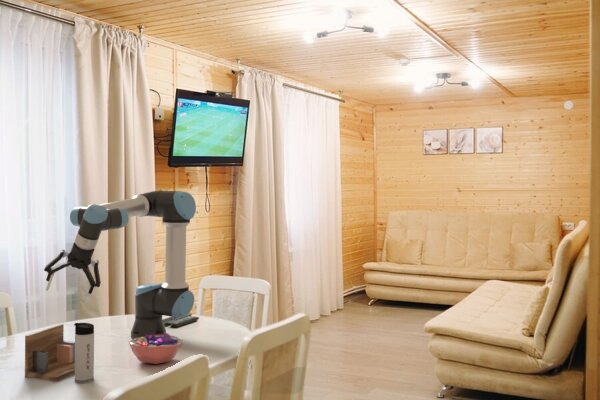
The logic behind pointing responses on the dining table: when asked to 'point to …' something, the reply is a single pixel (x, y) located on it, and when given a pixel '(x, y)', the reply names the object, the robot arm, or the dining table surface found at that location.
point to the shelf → (48, 343)
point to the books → (66, 351)
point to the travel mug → (84, 352)
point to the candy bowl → (155, 348)
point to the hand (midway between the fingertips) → (66, 294)
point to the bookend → (39, 362)
